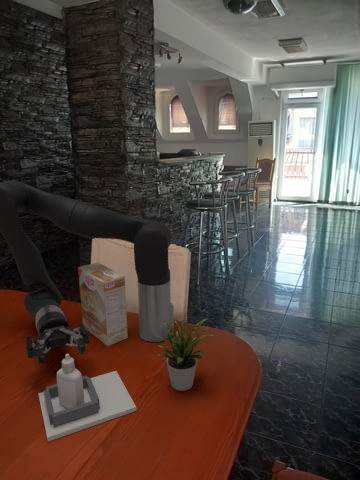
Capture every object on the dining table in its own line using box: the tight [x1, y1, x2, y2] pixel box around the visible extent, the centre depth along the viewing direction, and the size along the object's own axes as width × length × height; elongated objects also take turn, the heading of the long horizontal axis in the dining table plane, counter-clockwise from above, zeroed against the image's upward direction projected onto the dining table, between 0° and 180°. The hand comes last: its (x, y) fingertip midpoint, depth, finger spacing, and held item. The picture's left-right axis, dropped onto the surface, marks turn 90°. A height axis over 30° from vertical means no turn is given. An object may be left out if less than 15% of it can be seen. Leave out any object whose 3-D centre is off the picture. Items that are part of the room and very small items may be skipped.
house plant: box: [155, 313, 216, 392], centre depth 85 cm, size 14×14×16 cm
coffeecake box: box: [77, 262, 129, 347], centre depth 107 cm, size 15×7×20 cm, turn 41°
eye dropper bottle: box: [56, 353, 84, 409], centre depth 78 cm, size 4×6×12 cm
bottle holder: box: [38, 370, 137, 442], centre depth 80 cm, size 18×14×4 cm
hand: (63, 355), depth 83 cm, fingers open, 8 cm apart
